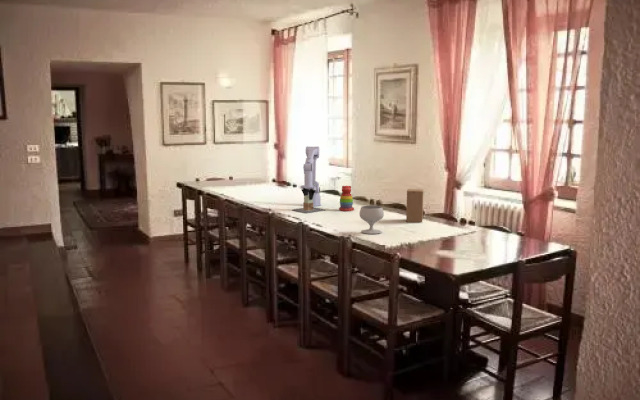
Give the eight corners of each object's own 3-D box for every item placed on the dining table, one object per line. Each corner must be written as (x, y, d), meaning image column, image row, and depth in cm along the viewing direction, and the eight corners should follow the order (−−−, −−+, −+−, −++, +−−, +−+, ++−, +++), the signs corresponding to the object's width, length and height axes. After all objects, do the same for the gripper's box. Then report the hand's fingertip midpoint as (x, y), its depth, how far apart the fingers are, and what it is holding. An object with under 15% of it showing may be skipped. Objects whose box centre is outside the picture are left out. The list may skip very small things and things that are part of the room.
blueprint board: (310, 207, 412) (310, 206, 412) (325, 210, 401) (325, 209, 401) (291, 210, 400) (291, 209, 400) (306, 213, 389) (306, 212, 389)
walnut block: (308, 208, 404) (308, 201, 403) (313, 209, 400) (313, 202, 399) (303, 209, 401) (303, 202, 400) (307, 210, 397) (307, 203, 396)
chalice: (362, 235, 318) (363, 209, 316) (356, 230, 332) (356, 205, 330) (386, 234, 321) (387, 208, 319) (379, 229, 335) (379, 204, 332)
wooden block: (422, 222, 355) (423, 191, 352) (406, 222, 357) (406, 190, 354) (422, 219, 365) (423, 189, 361) (407, 219, 367) (407, 188, 363)
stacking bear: (354, 209, 405) (354, 184, 402) (353, 211, 395) (353, 186, 392) (339, 209, 406) (339, 184, 403) (338, 211, 396) (338, 186, 393)
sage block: (308, 201, 403) (308, 195, 402) (312, 202, 399) (312, 195, 399) (304, 202, 400) (303, 195, 399) (308, 203, 397) (308, 196, 396)
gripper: (297, 179, 400) (297, 198, 402) (310, 181, 389) (311, 201, 391) (305, 179, 405) (305, 197, 407) (318, 180, 394) (318, 199, 396)
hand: (308, 199), depth 399 cm, fingers open, 5 cm apart
